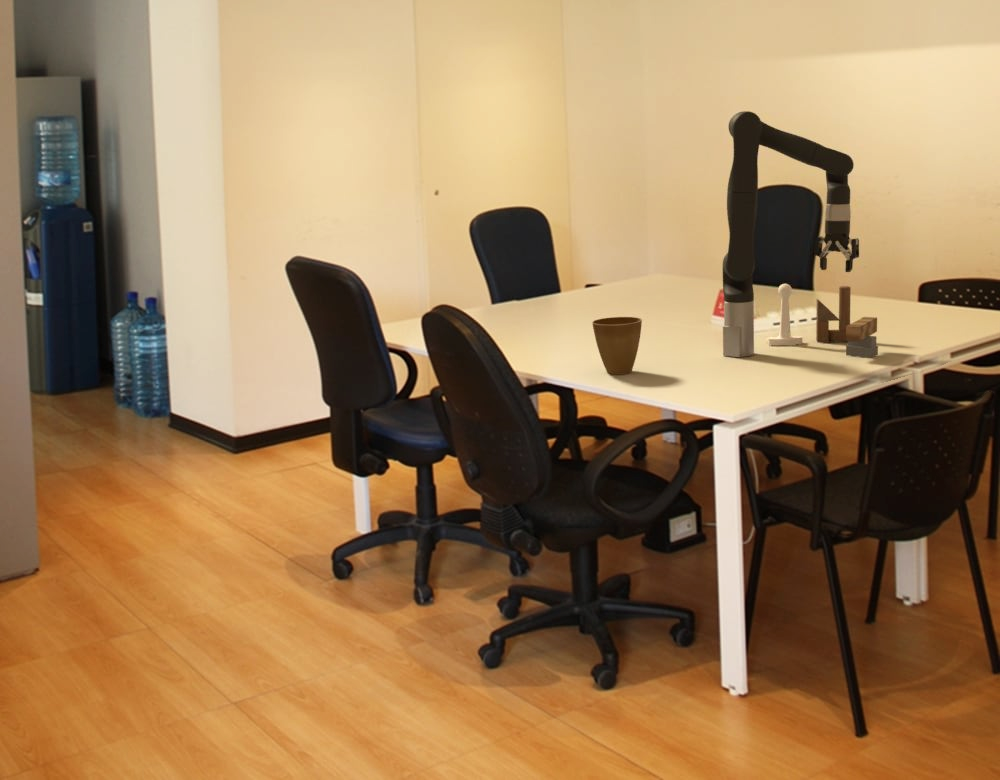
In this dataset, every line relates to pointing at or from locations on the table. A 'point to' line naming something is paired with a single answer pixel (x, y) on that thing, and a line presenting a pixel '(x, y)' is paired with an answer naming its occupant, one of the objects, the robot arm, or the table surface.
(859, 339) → the walnut bar
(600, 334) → the plant pot
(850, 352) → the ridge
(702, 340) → the table surface
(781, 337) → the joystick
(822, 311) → the brown rod with wedge
